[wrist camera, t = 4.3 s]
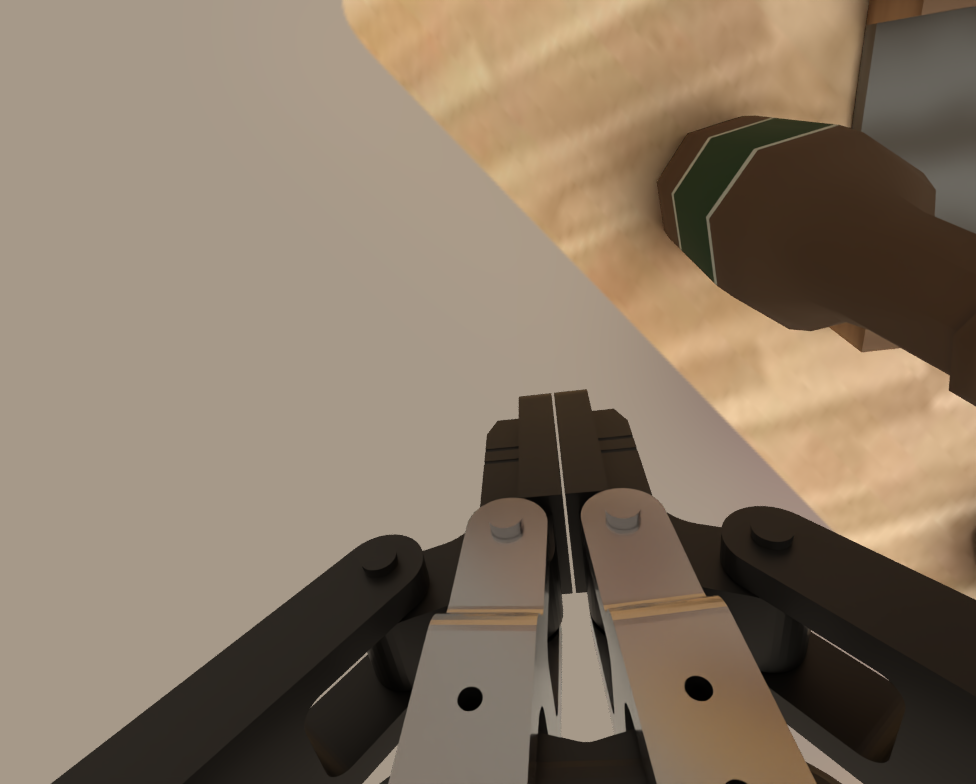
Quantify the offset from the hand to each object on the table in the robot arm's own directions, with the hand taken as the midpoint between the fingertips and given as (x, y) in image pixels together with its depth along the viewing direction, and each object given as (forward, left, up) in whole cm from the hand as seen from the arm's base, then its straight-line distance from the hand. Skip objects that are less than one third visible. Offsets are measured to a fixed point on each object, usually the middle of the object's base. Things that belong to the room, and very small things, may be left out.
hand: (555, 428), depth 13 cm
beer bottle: (0, +11, -25) cm, 27 cm away
